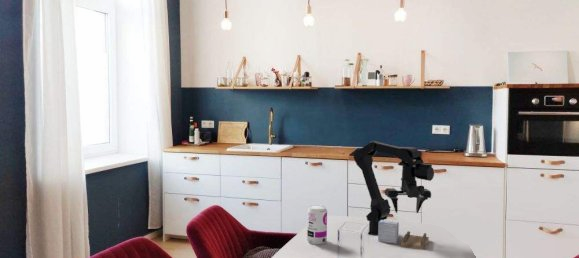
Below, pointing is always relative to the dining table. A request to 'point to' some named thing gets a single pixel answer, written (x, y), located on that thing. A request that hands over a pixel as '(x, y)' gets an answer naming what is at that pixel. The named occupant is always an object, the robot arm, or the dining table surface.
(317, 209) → the supplement can
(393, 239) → the medicine box
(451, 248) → the dining table surface
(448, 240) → the dining table surface
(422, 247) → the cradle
